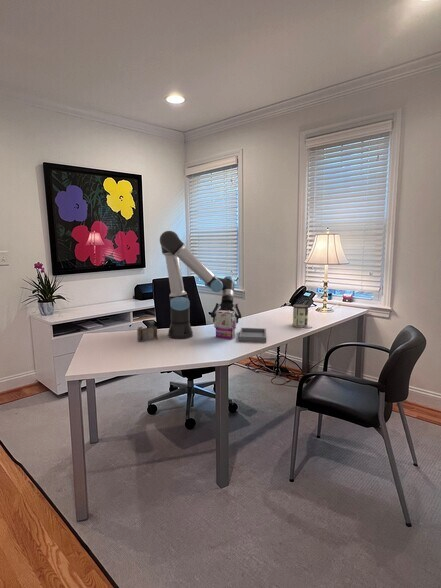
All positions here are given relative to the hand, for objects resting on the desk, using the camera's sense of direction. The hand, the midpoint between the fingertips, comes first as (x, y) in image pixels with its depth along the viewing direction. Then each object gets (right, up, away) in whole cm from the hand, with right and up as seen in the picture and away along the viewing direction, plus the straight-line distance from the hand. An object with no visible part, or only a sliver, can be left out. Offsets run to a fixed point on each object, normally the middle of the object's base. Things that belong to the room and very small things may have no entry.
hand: (225, 327), depth 213 cm
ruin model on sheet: (-46, -8, -4) cm, 47 cm away
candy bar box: (0, -7, +3) cm, 7 cm away
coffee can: (+53, -2, +34) cm, 63 cm away
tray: (+17, -6, +4) cm, 19 cm away
